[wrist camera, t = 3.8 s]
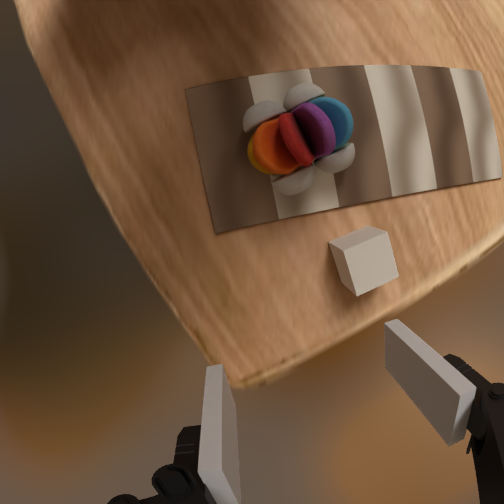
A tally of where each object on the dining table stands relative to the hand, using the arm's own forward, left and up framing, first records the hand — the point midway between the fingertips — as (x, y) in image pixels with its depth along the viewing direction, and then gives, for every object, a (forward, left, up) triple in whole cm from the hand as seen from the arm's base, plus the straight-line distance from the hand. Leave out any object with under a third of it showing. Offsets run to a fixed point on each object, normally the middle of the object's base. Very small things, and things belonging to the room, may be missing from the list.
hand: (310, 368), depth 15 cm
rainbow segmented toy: (+5, +12, -17) cm, 22 cm away
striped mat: (+14, +12, -17) cm, 25 cm away
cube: (+9, 0, -17) cm, 20 cm away
